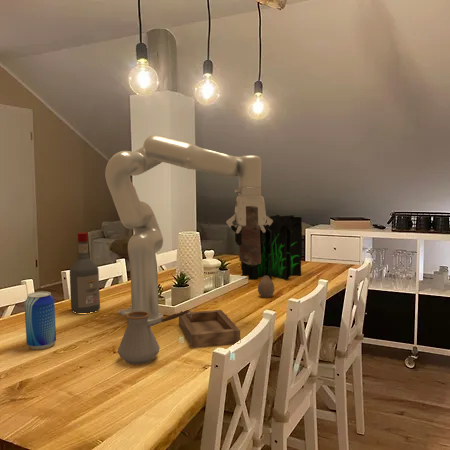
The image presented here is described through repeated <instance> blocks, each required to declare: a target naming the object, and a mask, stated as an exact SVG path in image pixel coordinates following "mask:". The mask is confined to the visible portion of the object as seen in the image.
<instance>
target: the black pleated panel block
mask: <svg viewBox="0 0 450 450" xmlns="http://www.w3.org/2000/svg"><path fill="white" fill-rule="evenodd" d="M268 217H269V218H270V219H272V220H273V222H272V224H271V225H270V226H269V228H268V229H267V230H266V232H265V233H264V242H263V244H260V246H261V263H260V264H257V265H250V264H246V263H243V262H241V261H240V262H241V263H240V265H241V266H240V269H241V274H242V276H248V280H255V281H256V280H258V279H259V278H263V276H269V278H270V279H271V281H272V280H273V278H277V279H279V280H284V281H288V279H290V277H301V276H302V258H303V256H302V255H303V248H302V247H303V246H302V245H303V226H302V225H303V222H302V221H303V217H302V216H294V215H293V214H291V215H280V214H275V215H271V216H268ZM266 223H267V220H266ZM266 223H265V224H266ZM263 226H264V225H263ZM272 282H273V281H272Z"/></svg>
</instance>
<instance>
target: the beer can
mask: <svg viewBox="0 0 450 450" xmlns="http://www.w3.org/2000/svg"><path fill="white" fill-rule="evenodd" d="M55 305H56V304H55V299H54V297H53V296H52V293H51V292H50V291H35V292H34V291H33V292H30V293H27V298H26V299H25V301H24V315H25V316H24V319H25V337H26V339H25V340H26V345H27V346H28V347H29V349H31V350H34V349H40V350H44V349H45V348H46V349H49V347H50V348H52V347H53V346H54V345H55V342H56V341H57V329H56V327H57V326H56V310H55V309H56V307H55ZM51 346H52V347H51ZM46 349H45V350H46Z"/></svg>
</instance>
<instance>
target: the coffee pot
mask: <svg viewBox="0 0 450 450" xmlns="http://www.w3.org/2000/svg"><path fill="white" fill-rule="evenodd" d="M188 312H190V313H191V312H192V311H191V310H189V309H187V310H184V311H182V310H181V311H179V312H177V313H173V314H171V315H168V316H166V317H163V319H161V320H159V321H156V322H153V323H148V322H147V320H148V317H149V315H150V314H149V313H148V312H143V311H138V312H131V313H128V314H127V315H126V316H125V317H126V318H127V321H128V324H127V325H126V329H125V331H124V333H123V336H122V339H121V341H120V344H119V345H118V346H119V347H118V348H117V353H118V356H119V357H120V358H121V359H122V360H124V361H125V363H126V364H129V365H145V364H148V363H151V362H152V361H153V360H154V358H156V357H157V355H158V354H159V353H160V345H159V343H158V341H157V339H156V336H155V334H154V332H153V330H152V328H151V327H153V326H156V325H159V324H161V323H166V322H168V321H172V320H175V319H177V318H179V316H183V315H184V314H187V313H188ZM188 316H189V314H188ZM189 317H190V316H189ZM191 317H192V313H191Z"/></svg>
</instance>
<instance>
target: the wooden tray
mask: <svg viewBox="0 0 450 450" xmlns="http://www.w3.org/2000/svg"><path fill="white" fill-rule="evenodd" d="M191 313H192V317H191ZM191 313H190V312H188V313H187V314H184V315H183V316H179V317H178V325H179V327H180V329H181V331H182V332H183V334H184V336H185V338H186V340H187V342H188V344H189V346H190V347H191V349H197V348H198V349H199V348H206V347H215V346H226V345H235V344H234V343H236V342H238V341H239V340H240V341H241V329H240V328H239V327H238V326H237V325H236V324H235V323H234V322H233V321H232V320H231V319H230V318H229V317H228V315H227V314H226V313H225V312H224V311H223V310H222V309H214V310H202V311H199V310H198V311H191ZM188 314H189V316H190V317H189V316H188Z"/></svg>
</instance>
